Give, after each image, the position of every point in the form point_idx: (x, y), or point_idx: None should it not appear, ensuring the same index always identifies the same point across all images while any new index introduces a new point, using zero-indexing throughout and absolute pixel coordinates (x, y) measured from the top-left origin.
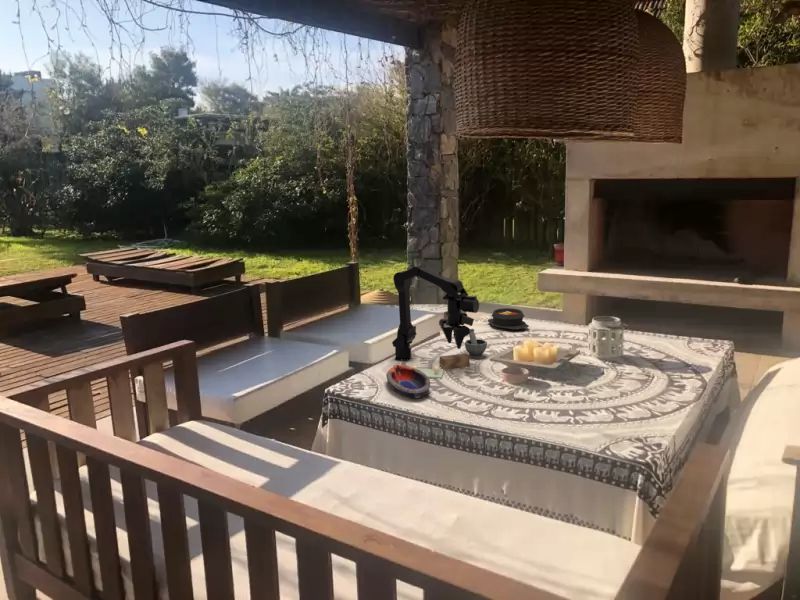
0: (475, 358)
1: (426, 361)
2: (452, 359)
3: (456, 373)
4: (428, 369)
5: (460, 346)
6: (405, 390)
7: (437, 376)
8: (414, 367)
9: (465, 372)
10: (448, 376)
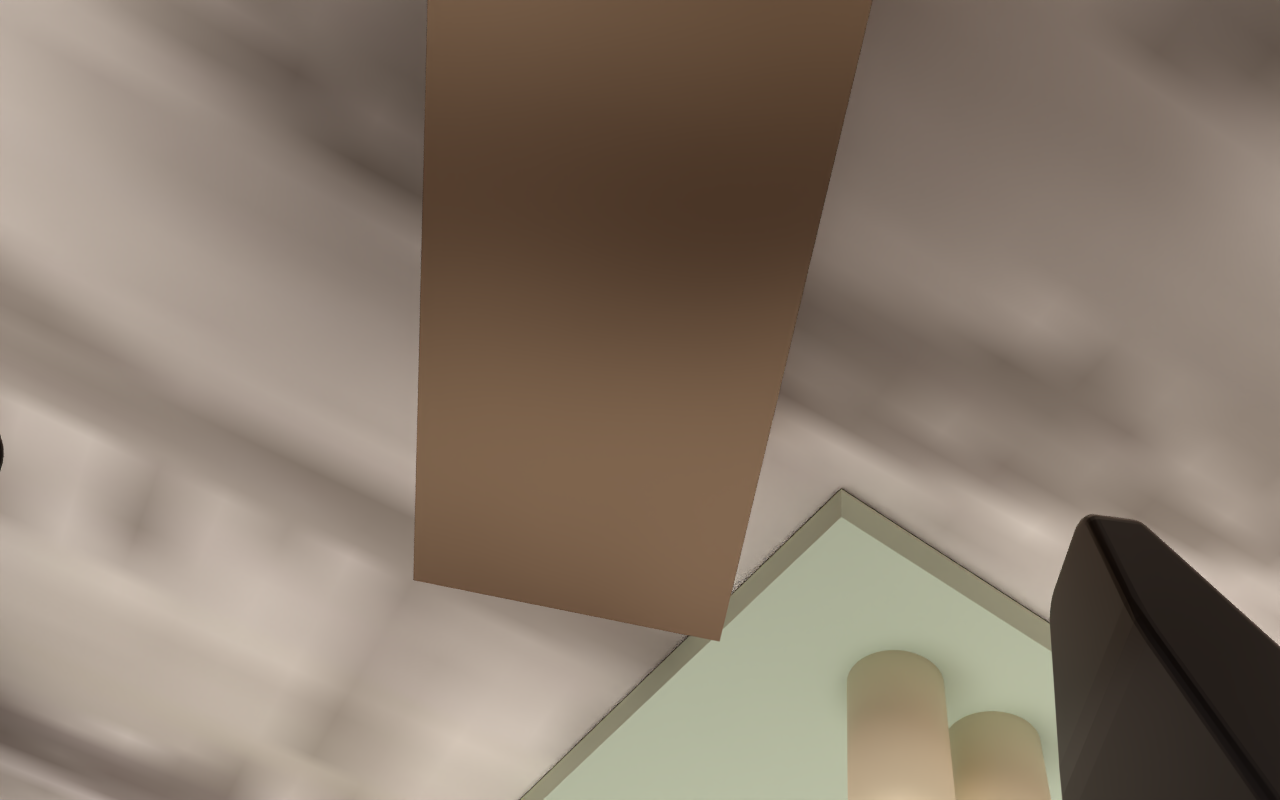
0: None
1: (25, 425)
2: (776, 377)
3: (1146, 326)
4: (645, 712)
5: (1209, 621)
6: None
7: None
8: None
9: (1263, 79)
10: None
